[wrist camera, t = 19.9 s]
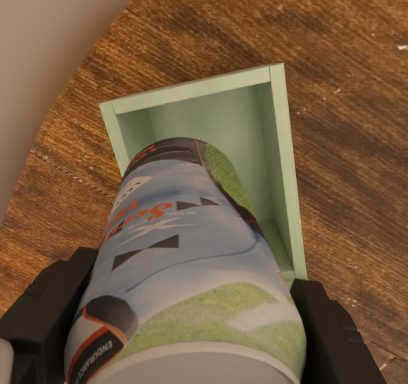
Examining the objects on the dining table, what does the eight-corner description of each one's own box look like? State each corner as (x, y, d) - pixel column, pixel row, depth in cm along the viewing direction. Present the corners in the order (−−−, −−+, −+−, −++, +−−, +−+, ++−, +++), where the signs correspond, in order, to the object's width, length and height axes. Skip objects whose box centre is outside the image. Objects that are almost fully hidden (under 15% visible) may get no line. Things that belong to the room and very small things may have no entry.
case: (135, 92, 29) (97, 103, 20) (261, 65, 28) (283, 62, 19) (175, 238, 35) (160, 299, 25) (282, 221, 33) (307, 278, 24)
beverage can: (155, 110, 16) (2, 220, 4) (281, 174, 17) (414, 395, 5) (111, 210, 18) (-64, 452, 7) (225, 262, 19) (238, 546, 8)
